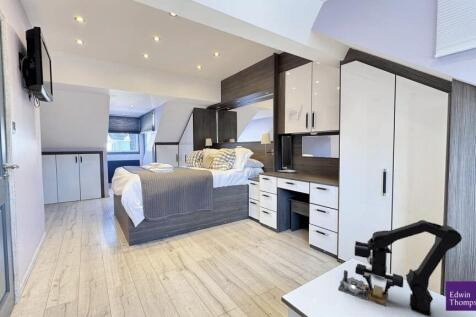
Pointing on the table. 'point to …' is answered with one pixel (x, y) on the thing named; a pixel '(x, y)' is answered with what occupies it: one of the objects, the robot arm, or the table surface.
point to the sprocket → (353, 284)
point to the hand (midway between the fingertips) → (377, 292)
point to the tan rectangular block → (377, 292)
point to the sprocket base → (353, 292)
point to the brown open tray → (383, 302)
